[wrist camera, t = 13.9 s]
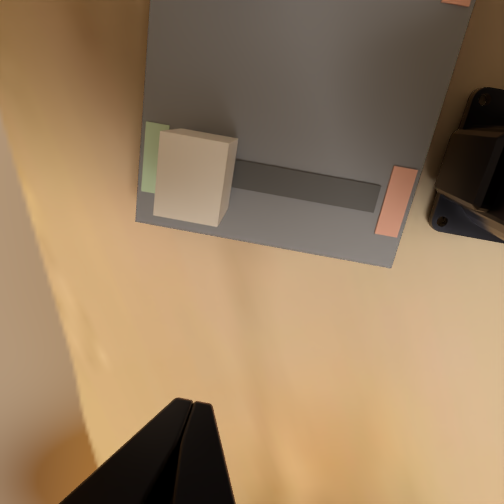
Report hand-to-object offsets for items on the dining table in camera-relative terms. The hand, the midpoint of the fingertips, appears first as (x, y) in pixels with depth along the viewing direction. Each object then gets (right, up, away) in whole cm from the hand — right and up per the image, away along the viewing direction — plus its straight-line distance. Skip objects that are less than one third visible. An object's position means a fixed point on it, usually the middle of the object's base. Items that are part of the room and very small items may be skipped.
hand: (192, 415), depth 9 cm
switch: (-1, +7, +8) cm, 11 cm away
